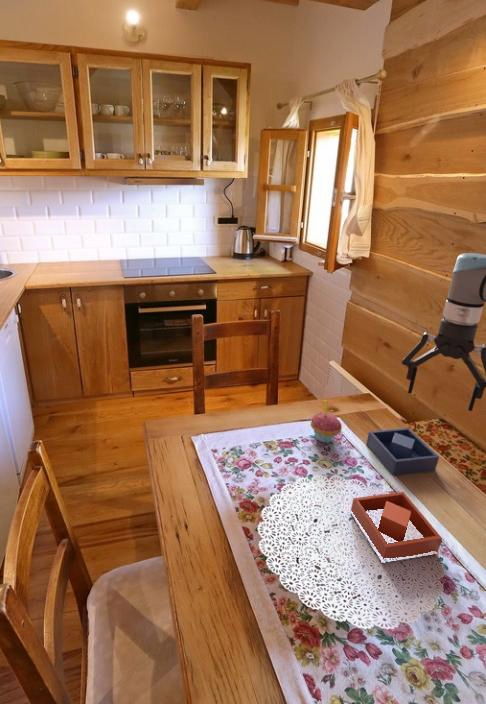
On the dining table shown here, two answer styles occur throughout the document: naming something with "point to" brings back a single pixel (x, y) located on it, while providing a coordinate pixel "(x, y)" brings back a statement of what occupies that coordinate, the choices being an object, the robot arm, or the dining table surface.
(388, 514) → the terracotta block
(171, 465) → the dining table surface
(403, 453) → the slate block
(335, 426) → the cupcake
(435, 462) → the slate bin
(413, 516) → the terracotta bin
